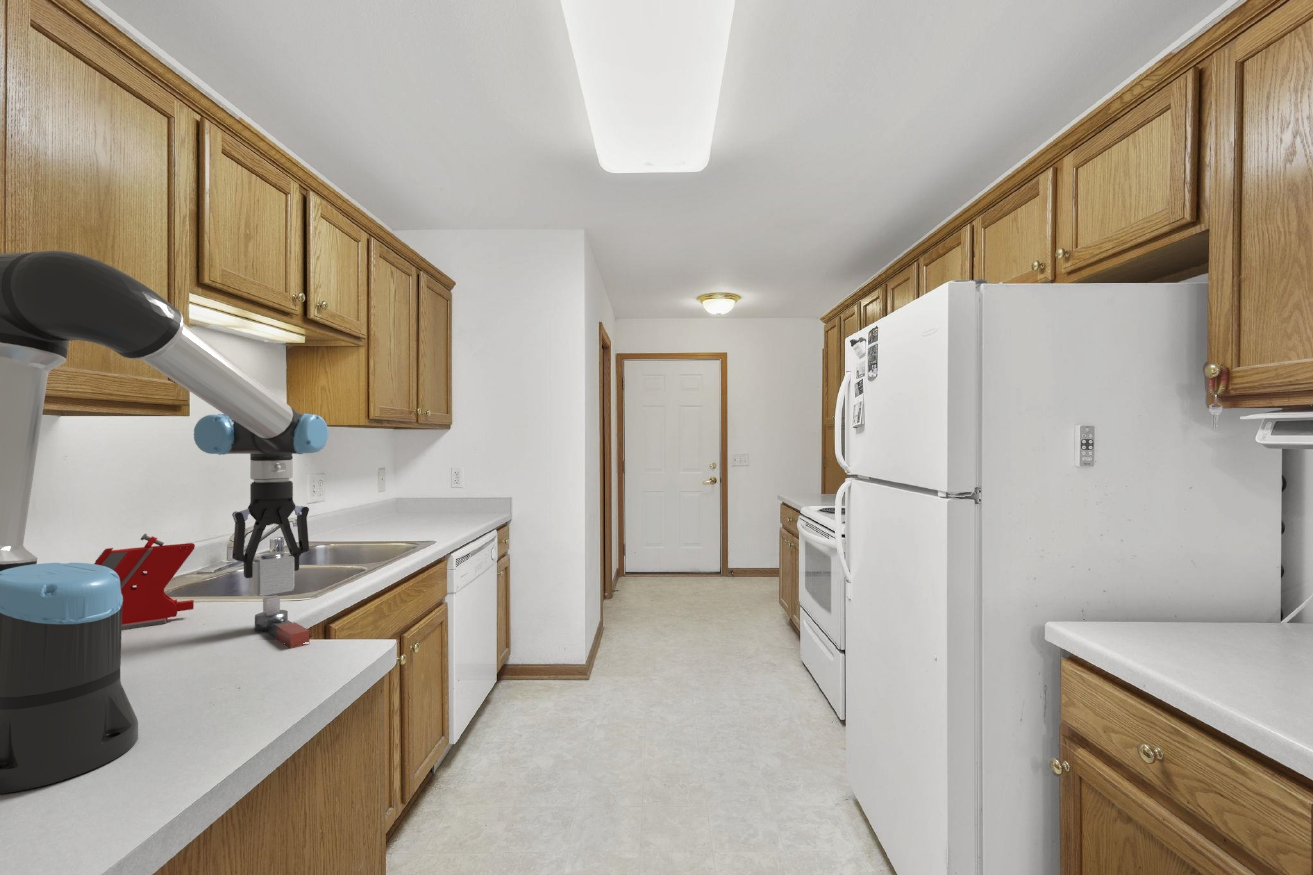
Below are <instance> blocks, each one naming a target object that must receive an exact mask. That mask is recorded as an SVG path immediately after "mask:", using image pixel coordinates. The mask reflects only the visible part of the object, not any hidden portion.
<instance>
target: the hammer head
mask: <svg viewBox="0 0 1313 875" xmlns="http://www.w3.org/2000/svg"><path fill="white" fill-rule="evenodd" d="M253 560H254V561H256V562H258V594H256V595H257V596H259V597H266V596H272V595H276V594H280V593H285V592H286V593H287V592H292V591H294V588H293V556H292V555H291V554H289V553H286V552H271V553H269V552H268V553H263V554H260V555H255V557H254V559H253Z"/></svg>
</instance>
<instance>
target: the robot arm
mask: <svg viewBox="0 0 1313 875" xmlns="http://www.w3.org/2000/svg"><path fill="white" fill-rule="evenodd" d="M70 341H71V342H72V341H83V342H88V343H91V344H92V343H93V344H97V345H99V346H103V347H105V348H108V349H110V350H112V351H114V352H116V353H117V354H118V355H120V356H121V357H123V358H124V359H129V360H141V361H142V362H144V363H146V364H147V365H149V366H151V367H152V368H154V369H155V370H157V371H159V372H160V373H161V374H163V375H164V376H166V377H168V378H169V379H170V380H172V381H173V382H175V383H176V384H177V385H179V386H181V387H182V388H184V389H185V390H187V391H188V392H190V393H192V394H193V395H195V396H196V397H198V398H199V399H200V400H202V401H203V402H205V403H207V405H209V406H212V408H214V409H216V410H218V411H219V412H220V413H218V414H208V415H204V416H203V417H201V418H199V420H198V421H197V422H196V424H195V426H194V428H193V440H194V443H195V445H196V446H197V448H198V449H199V450H200V451H202V452H203V453H205V454H208V455H209V454H210V455H219V456H221V455H230V454H231V455H233V454H234V455H237V454H238V455H243V454H247V455H248V454H249V456H250V457H249V458H250V459H249V460H250V463H249V464H250V466H249V467H250V469H249V470H250V471H249V472H250V473H249V474H250V475H249V476H250V477H249V478H250V479H251V480H253V481H252V482H251V483H250V488H249V489H250V490H249V491H250V492H249V494H250V497H249V499H250V503H249V505H248V507H247V508H245V509H244V510H243V509H242V510H240V511H236V510H235V511H234V512H232V514H231V515H232V518H233V521H234V533H233V534H234V536H233V544H232V545H233V546H232V548H233V550H232V559H233V560H235V561H237V562H242V563H243V577H244V578H245V579H249V580H248V581H249V585H248V586H249V588H248V590H249V593H250V594H252V595H257V594H258V562H256V561H254V560H253V559H254V557H255V556H256V553H257V551H258V548H259V545H260V542H261V540H262V536H263V534H264V531H265V529H266V528H267V526H271V525H278V527H279V528H280V530H281V534H282V535H283V536H282V537H283V538H284V541H285V544H286V547H287V549H288V552H289V553H290V554H289V555H292V556H293V589H294V588H295V572H297V571H299V570H300V557H301V556H302V554H304V553H307V552H308V551H310V541H309V532H308V530H309V528H308V516H309V512H310V508H309V506H305V505H301V506H300V505H296V503H295V502H294V482H293V481H292V480H290V479H292V478H293V477H294V476H293V475H294V473H293V472H294V470H293V469H294V468H293V465H294V464H293V463H294V462H293V461H294V460H293V454H295V455H303V454H313V453H314V454H315V453H319V452H320V451H321V450H322V449H324V447H326V444H327V441H328V439H329V428H328V425H327V422H326V421H325V419H324V418H323V417H322V416H320V415H318V414H310V413H306V412H305V413H303V414H302V413H299V412H298V411H296V409H294V408H292V407H291V406H290V405H289V404H288V403H286V402H285V401H283V400H282V399H281V398H279V397H278V396H277V395H276V394H274V393H273V392H272V391H271V390H269V388H267V387H265V385H263V384H262V383H261V382H259V381H258V380H257V379H255V378H254V377H253V376H252V375H251V374H249V373H248V372H246V371H245V370H244V369H243V368H242V367H240V366H239V365H237V364H236V363H235V362H234V361H232V359H230V358H229V357H227V356H226V355H225V354H224V353H222V352H221V351H220V350H219V349H217V348H216V347H215V346H213V344H211V343H210V342H208V341H207V340H205V339H204V338H203V337H202V336H201V335H199V334H198V333H197V332H195V331H194V330H193V329H192V328H191V327H189V326H188V325H187V324H186V323H184V316H183V314H182V312H181V311H180V310H179V309H178V308H176V307H175V306H174V305H173V304H171V303H170V302H169V301H168V300H166V299H165V298H164V297H163V296H161V295H160V294H159V293H157V292H156V291H154V290H153V289H151V288H150V287H149V286H147V285H145V284H144V283H142V282H141V281H138V280H137V279H135V278H134V277H132V276H131V275H130V274H128V273H125V272H123V271H121V270H119V269H117V268H116V267H114V266H113V265H110V264H107V263H106V262H103V261H101V260H98V259H95V258H93V257H90V256H88V255H85V254H79V253H76V252H71V251H65V250H43V251H31V252H10V253H9V252H8V253H0V794H8V792H9V793H15V792H20V791H27V790H31V789H36V788H40V787H42V786H47V785H50V784H51V785H52V784H54V783H55V784H56V783H57V782H61V781H65V780H68V779H70V778H72V777H78V776H79V775H82V774H84V773H87V772H89V771H92V770H94V769H97V768H99V767H102V766H103V765H106V764H108V763H109V762H111V761H113V760H115V759H117V758H119V757H121V756H122V755H123V754H125V753H126V752H128V751H129V750H131V748H133V746H134V745H136V743H137V741H138V739H139V720H138V717H137V715H136V713H135V711H134V709H133V706H132V704H131V702H130V700H129V697H128V696H127V693H126V692H125V689H124V687H123V685H122V682H121V679H122V678H121V664H122V631H123V630H122V605H123V603H122V602H123V596H122V594H121V587H120V578H119V576H118V574H117V573H116V572H115V571H114V570H112V569H110V568H108V567H105V566H101V565H96V564H94V563H87V562H65V563H62V562H45V563H38V557H36V555H34V554H33V553H31V552H30V550H28V549H26V547H25V546H24V543H25V542H24V541H25V535H26V528H27V521H28V516H29V515H28V514H29V507H30V500H31V494H32V487H33V481H34V473H35V466H36V462H37V461H36V459H37V455H38V454H37V453H38V446H39V441H40V440H39V439H40V434H41V425H42V418H43V412H44V405H45V397H46V391H47V386H48V384H47V383H48V378H49V373H50V372H51V371H52V370H54V369H56V368H58V367H60V366H62V365H64V364H66V363H67V357H68V351H69V344H70ZM293 512H294V515H295V516H296V526H297V539H298V542H297V541H296V539H295V536H294V533H293V530H292V528H291V523H290V521H289V518H290V516H291V515H292V514H293ZM249 515H250V516H251V517H252V518H253V519H254V520H255V521H254V524H253V530H252V532H251V535H250V538H249V540H248V544H247V546H246V548H245V536H246V521H247V520H248V519H249V517H248V516H249ZM244 549H245V552H244Z"/></svg>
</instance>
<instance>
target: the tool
mask: <svg viewBox="0 0 1313 875" xmlns="http://www.w3.org/2000/svg"><path fill="white" fill-rule="evenodd" d="M139 540H141V541H144V540H145V541H147V542H146V543H145V545H144V547H143V546H142V547H140V546H139V547H130V548H122V549H121V548H120V549H114V547H108V548H105V549H104V550H103V551H102V552H101V553H100V555H99V556H98V557H97V558H96V560H95V562H94V563H93V564H96V565H101V566H105V567H108V568H110V569H112V570H114V571H115V572H116V573H117V574H118V576H119V578H120V587H121V594H122V596H123V602H122V603H123V605H122V631H124V630H132V629H137V628H138V629H139V628H145V627H150V626H151V627H153V626H158V625H164V624H167V622H168V618H175V617H177V615H178V612H183V611H184V612H185V611H191V610H194V607H195V605H194V604H195V603H194V599H189V600H182V601H178V599H174V598H172V597H171V596H169V594H168V595H167V593H166V592H165V589H166V587H167V586H168V585H169V583H170V581H171V580H172V579H173V578H174V576H175V575H176V573H178V571H179V570H180V568H181V567H182V566H183V564H184V563H185V562H186V560H187V559H188V558H189V556H191V554H192V552H193V551H194V550H195V548H196V545H195V544H194V543H193V542H190V543H177V544H176V543H175V544H165V542H163V541H161V540H158V538H157V537H155V536H154V535H153V536H148V534H147V533H144V534H143V535H142V536H141V538H140V539H139ZM154 544H155V545H156V546H155V545H154ZM164 544H165V545H164ZM153 545H154V546H153Z"/></svg>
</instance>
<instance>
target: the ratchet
mask: <svg viewBox="0 0 1313 875" xmlns="http://www.w3.org/2000/svg"><path fill="white" fill-rule="evenodd" d="M288 612H289V611H288V610H287V609H281V597H280V596H279V595H278V594H277V595H276V594H273V595H267V596H262V612H258V613H257V614H254V632H256V633H268V634H269V635H271V636H273V637H274V638H276V640H278V641H279V642H280V643H282V644H283V643H285V644H284V645H285V646H286V647H289V649H294V648H297V647H302V646H307V645H308V644H303V643H305V642H309V643H310V630H309V628H306V627H304V626H303V625H301V624H299V623H297V622H295V621H294V622H292V621H290V620H288V619H289V618H288V616H289V613H288Z"/></svg>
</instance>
